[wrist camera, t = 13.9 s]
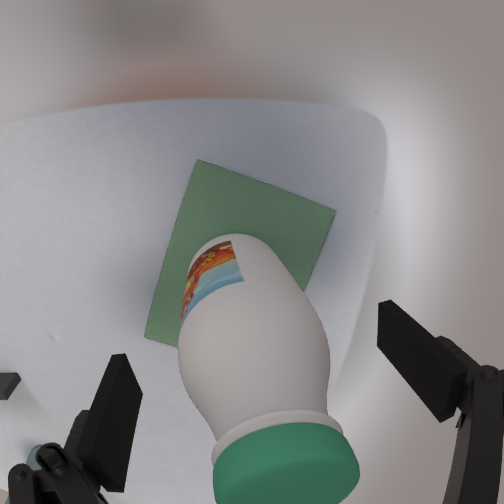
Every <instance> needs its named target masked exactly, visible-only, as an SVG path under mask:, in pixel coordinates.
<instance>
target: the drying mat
mask: <svg viewBox="0 0 504 504" xmlns="http://www.w3.org/2000/svg"><path fill="white" fill-rule="evenodd" d="M335 212H336V211H335V210H332V209H330V208H328V207H325V206H323V205H320V204H318V203H315V202H313V201H310V200H308V199H305V198H303V197H300V196H297V195H295V194H292V193H290V192H287V191H284V190H282V189H279V188H277V187H274V186H271V185H269V184H266V183H263V182H260V181H258V180H255V179H252V178H249V177H247V176H244V175H241V174H238V173H235V172H233V171H230V170H227V169H224V168H221V167H218V166H215V165H212V164H209V163H206V162H203V161H200V160H197V161H196V164H195V167H194V170H193V172H192V175H191V178H190V181H189V184H188V187H187V190H186V193H185V196H184V199H183V202H182V205H181V208H180V211H179V214H178V217H177V220H176V223H175V227H174V230H173V233H172V236H171V240H170V243H169V246H168V249H167V253H166V256H165V260H164V263H163V266H162V270H161V273H160V277H159V281H158V284H157V288H156V292H155V295H154V299H153V303H152V307H151V310H150V314H149V318H148V322H147V326H146V330H145V334H144V337H145V338H148V339H151V340H155V341H158V342H161V343H165V344H168V345H172V346H175V347H178V339H179V326H180V318H181V311H182V303H183V297H184V291H185V285H186V279H187V274H188V270H189V266H190V264H191V261H192V259H193V257H194V256H195V254H196V253H197V252H198V250H199V249H200V248H201V247H202V246H203V245H205V244H206V243H207V242H209V241H210V240H212V239H214V238H216V237H219V236H222V235H226V234H235V233H238V234H246V235H250V236H253V237H256V238H258V239H260V240H261V241H263V242H264V243H266V244H267V245H268V246H269V247H270V248H271V249H272V250H273V251H274V253H275V254H276V255H277V256H278V258H279V259H280V260H281V262H282V263H283V264H284V266H285V267H286V269H287V270H288V271H289V273H290V274H291V276H292V277H293V278H294V280H295V281H296V283H297V284H298V286H299V287H300V288H301V290H302V291H303V290H304V288H305V285H306V283H307V281H308V278H309V276H310V274H311V271H312V269H313V267H314V264H315V262H316V259H317V257H318V255H319V252H320V250H321V247H322V245H323V242H324V240H325V237H326V235H327V232H328V230H329V227H330V225H331V222H332V220H333V217H334V215H335Z"/></svg>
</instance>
